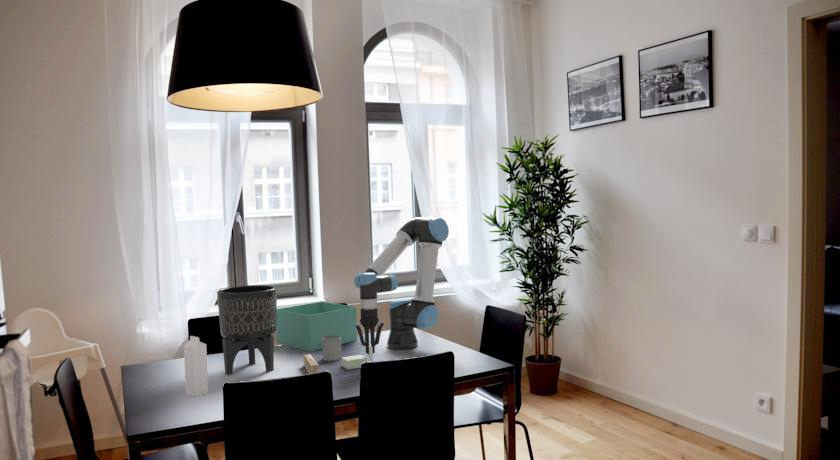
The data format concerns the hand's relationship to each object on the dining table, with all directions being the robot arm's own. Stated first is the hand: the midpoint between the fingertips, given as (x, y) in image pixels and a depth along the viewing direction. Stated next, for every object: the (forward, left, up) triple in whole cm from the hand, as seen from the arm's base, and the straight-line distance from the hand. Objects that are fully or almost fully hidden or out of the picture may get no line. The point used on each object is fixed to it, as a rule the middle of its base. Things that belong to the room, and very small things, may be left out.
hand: (370, 360), depth 272 cm
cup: (+13, -18, -2) cm, 23 cm away
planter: (+50, -15, -2) cm, 53 cm away
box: (+13, -56, -2) cm, 58 cm away
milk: (+72, +12, -2) cm, 73 cm away
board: (+26, 0, -2) cm, 26 cm away
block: (+7, 0, -2) cm, 8 cm away
